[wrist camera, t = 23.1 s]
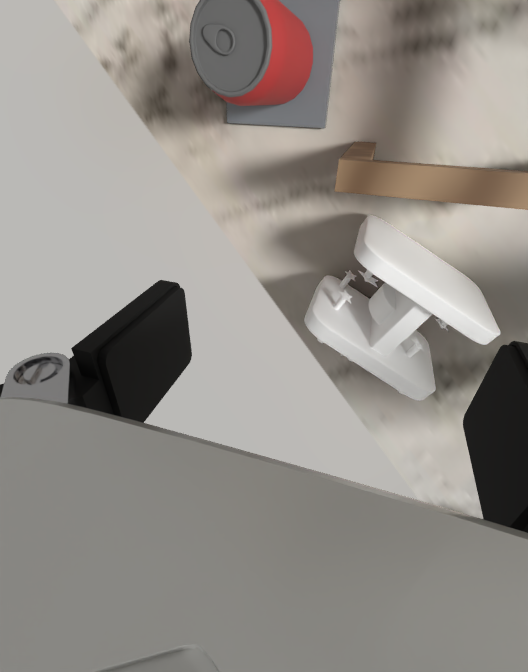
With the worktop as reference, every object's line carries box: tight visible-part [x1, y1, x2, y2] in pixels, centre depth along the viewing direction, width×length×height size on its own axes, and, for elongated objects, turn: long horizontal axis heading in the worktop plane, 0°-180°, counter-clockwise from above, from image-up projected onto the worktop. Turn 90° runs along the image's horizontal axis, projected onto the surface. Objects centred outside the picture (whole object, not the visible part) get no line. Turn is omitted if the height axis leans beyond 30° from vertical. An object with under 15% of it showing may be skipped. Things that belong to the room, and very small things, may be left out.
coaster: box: [227, 0, 340, 128], centre depth 31 cm, size 10×10×1 cm
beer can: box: [189, 0, 313, 106], centre depth 26 cm, size 7×7×12 cm
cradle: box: [335, 142, 528, 210], centre depth 22 cm, size 20×18×13 cm
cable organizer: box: [304, 215, 500, 401], centre depth 35 cm, size 15×11×12 cm
